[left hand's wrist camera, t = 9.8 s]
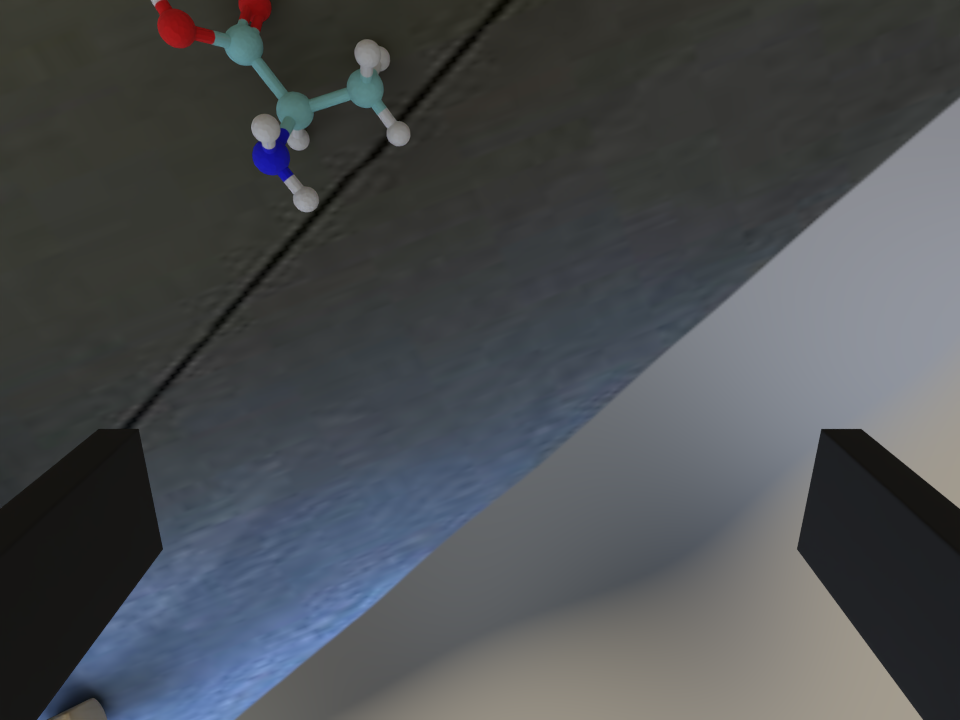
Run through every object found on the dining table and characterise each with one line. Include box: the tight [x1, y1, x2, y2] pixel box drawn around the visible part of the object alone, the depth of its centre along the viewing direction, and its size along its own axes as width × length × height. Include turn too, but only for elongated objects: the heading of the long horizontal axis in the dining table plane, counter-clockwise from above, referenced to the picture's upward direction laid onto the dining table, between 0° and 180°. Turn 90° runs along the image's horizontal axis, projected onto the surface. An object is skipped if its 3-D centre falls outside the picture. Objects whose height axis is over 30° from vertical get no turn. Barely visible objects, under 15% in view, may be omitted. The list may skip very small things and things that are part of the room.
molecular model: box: [151, 0, 410, 212], centre depth 32 cm, size 12×10×10 cm
